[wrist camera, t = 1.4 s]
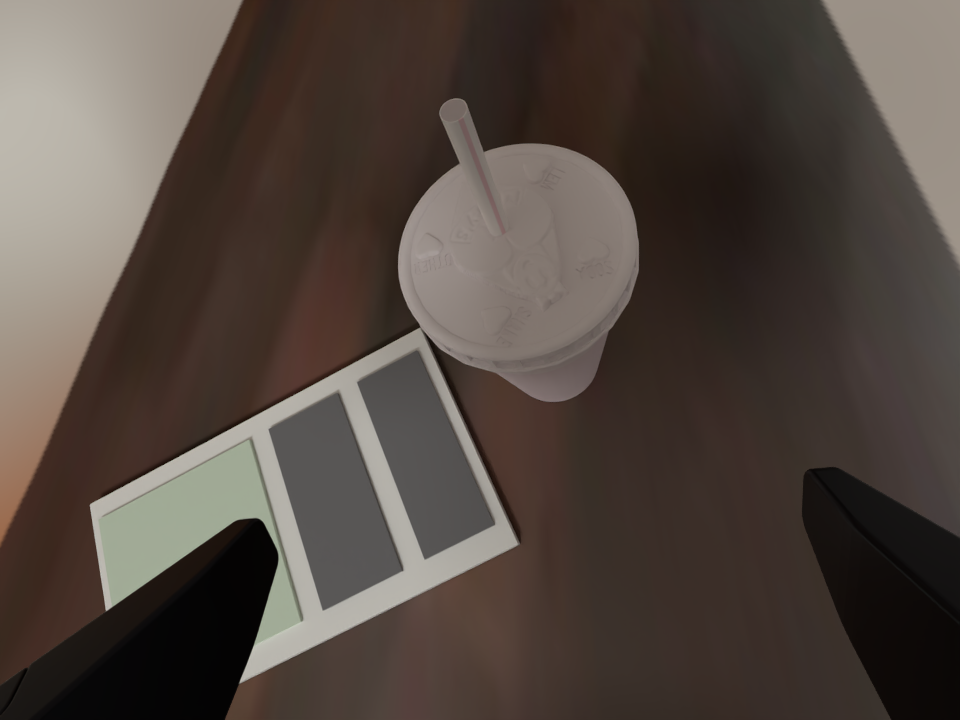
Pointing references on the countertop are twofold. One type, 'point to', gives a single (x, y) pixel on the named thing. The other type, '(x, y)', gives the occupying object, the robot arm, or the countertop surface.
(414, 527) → the board
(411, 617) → the countertop surface
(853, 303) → the countertop surface
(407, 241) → the smoothie
